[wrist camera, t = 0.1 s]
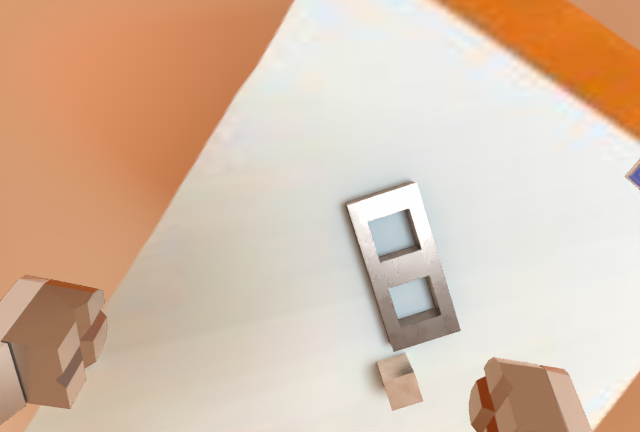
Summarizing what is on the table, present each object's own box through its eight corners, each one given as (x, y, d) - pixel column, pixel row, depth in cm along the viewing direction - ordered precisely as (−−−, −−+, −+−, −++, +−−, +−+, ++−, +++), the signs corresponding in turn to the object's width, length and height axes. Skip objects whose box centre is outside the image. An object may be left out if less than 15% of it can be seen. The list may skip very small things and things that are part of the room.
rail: (454, 322, 67) (460, 330, 64) (390, 342, 67) (393, 351, 64) (411, 181, 64) (416, 182, 62) (345, 202, 65) (347, 205, 62)
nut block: (413, 379, 68) (423, 401, 62) (385, 388, 68) (392, 410, 62) (404, 352, 68) (413, 372, 62) (376, 361, 68) (383, 381, 62)
